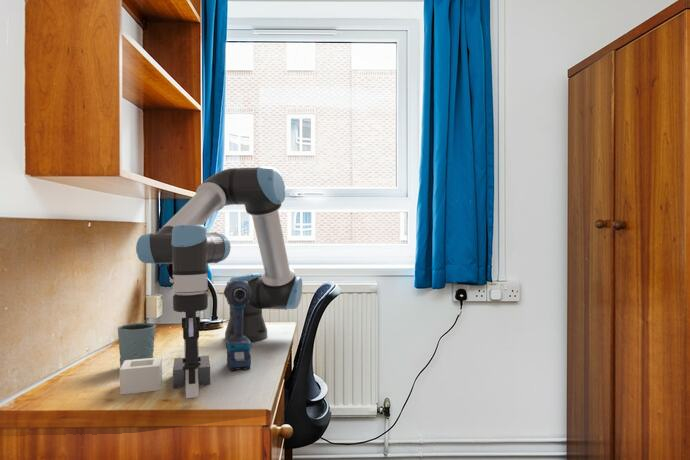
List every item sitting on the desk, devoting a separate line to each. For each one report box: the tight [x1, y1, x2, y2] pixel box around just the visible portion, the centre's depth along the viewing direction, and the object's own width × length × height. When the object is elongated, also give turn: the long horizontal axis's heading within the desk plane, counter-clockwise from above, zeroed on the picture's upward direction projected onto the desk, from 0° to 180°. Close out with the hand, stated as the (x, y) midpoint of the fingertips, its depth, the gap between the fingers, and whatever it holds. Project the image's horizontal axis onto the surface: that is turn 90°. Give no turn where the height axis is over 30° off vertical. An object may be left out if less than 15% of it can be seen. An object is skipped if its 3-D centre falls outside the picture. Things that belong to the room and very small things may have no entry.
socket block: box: [172, 355, 212, 389], centre depth 128 cm, size 12×9×4 cm
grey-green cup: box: [117, 322, 156, 369], centre depth 141 cm, size 10×10×12 cm
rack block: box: [119, 356, 163, 395], centre depth 123 cm, size 9×9×6 cm
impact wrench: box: [223, 280, 252, 371], centre depth 139 cm, size 8×23×25 cm, turn 15°
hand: (192, 396), depth 111 cm, fingers closed
